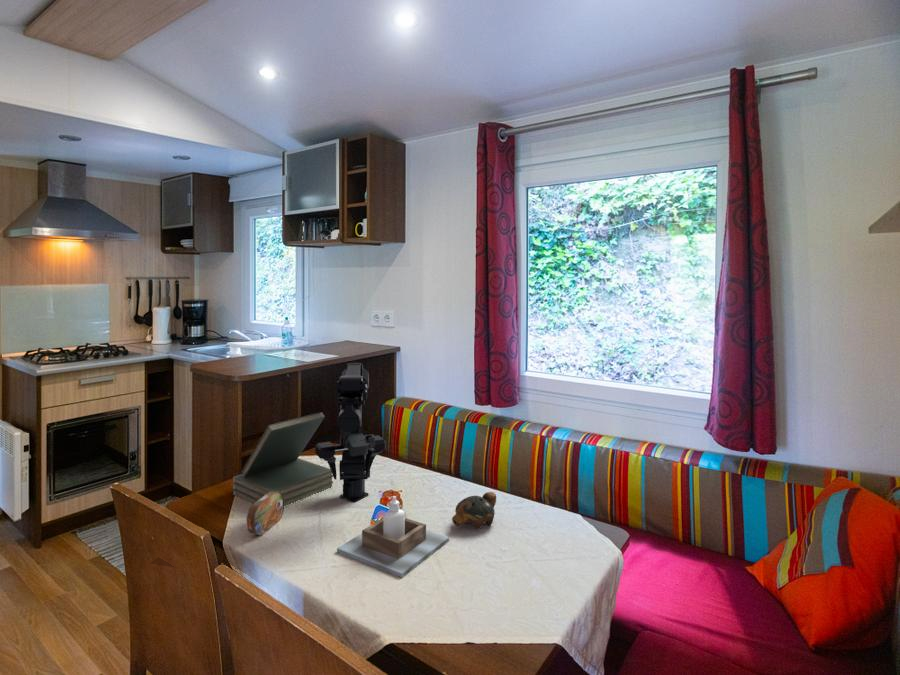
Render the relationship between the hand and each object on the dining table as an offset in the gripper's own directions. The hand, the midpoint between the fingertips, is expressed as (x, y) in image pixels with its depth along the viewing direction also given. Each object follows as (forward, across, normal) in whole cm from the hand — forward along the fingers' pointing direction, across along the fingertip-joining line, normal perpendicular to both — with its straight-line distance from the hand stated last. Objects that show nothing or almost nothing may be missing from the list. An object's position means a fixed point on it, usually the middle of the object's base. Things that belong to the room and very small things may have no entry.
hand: (351, 476), depth 145 cm
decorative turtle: (+12, +29, -19) cm, 37 cm away
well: (+12, +5, -20) cm, 24 cm away
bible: (+12, -14, +27) cm, 33 cm away
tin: (+12, -22, +4) cm, 26 cm away
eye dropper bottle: (+11, +5, -20) cm, 24 cm away
